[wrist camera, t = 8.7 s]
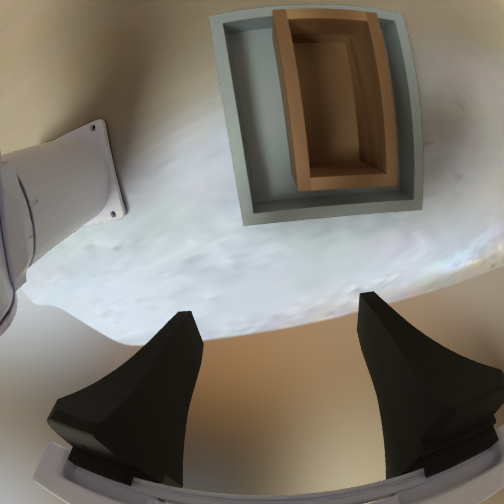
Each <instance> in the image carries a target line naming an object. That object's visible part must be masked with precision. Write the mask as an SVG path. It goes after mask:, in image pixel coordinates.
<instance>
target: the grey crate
mask: <svg viewBox="0 0 504 504" xmlns="http://www.w3.org/2000/svg"><path fill="white" fill-rule="evenodd" d="M295 8H328V9H346V10H358V11H367V12H374V13H377V16H378V20H379V24H380V28H381V32H382V36H383V41H384V46H385V51H386V56H387V61H388V67H389V73H390V80H391V87H392V95H393V103H394V113H395V125H396V141H397V186H377V187H357V188H340V189H326V190H313V191H301V192H299V191H298V189H297V186H296V184H295V181H294V179H293V176H292V174H291V166H290V157H289V149H288V140H287V132H286V125H285V117H284V110H283V102H282V96H281V89H280V82H279V76H278V69H277V63H276V57H275V51H274V46H273V40H272V10H277V9H295ZM209 22H210V28H211V34H212V41H213V47H214V53H215V59H216V65H217V71H218V77H219V84H220V90H221V96H222V102H223V108H224V114H225V120H226V126H227V132H228V138H229V144H230V150H231V156H232V162H233V168H234V174H235V180H236V185H237V191H238V197H239V203H240V209H241V215H242V221H243V226H250V225H258V224H267V223H277V222H286V221H296V220H306V219H316V218H326V217H337V216H348V215H360V214H372V213H384V212H398V211H412V210H422V203H423V133H422V119H421V108H420V99H419V91H418V84H417V77H416V71H415V66H414V60H413V55H412V50H411V46H410V42H409V37H408V33H407V29H406V26H405V22H404V18H403V15H402V13H398V12H393V11H387V10H381V9H374V8H365V7H356V6H343V5H285V6H272V7H262V8H253V9H246V10H239V11H233V12H228V13H222V14H217V15H213V16H209Z"/></svg>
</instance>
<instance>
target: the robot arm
mask: <svg viewBox="0 0 504 504" xmlns="http://www.w3.org/2000/svg"><path fill="white" fill-rule="evenodd" d="M94 125H95V130H93V126H94ZM113 211H114V212H115V213H116V216H115V215H114V214H113ZM125 214H126V211H125V207H124V204H123V200H122V196H121V193H120V189H119V185H118V181H117V177H116V172H115V168H114V164H113V159H112V155H111V150H110V145H109V140H108V135H107V130H106V124H105V121H104V120H102V119H99V120H95V121H93V122H91V123H88V124H86V125H84V126H82V127H80V128H78V129H75V130H73V131H71V132H69V133H67V134H65V135H63V136H61V137H59V138H57V139H55V140H54V141H51V142H47V143H43V144H39V145H35V146H32V147H28V148H24V149H21V150H17V151H14V152H11V153H8V154H5V155H1V152H0V336H1V335H2V334H3V333H4V332H5V331H6V330H7V328H8V327H9V326H10V324H11V322H12V321H13V319H14V316H15V314H16V310H17V294H16V291H17V290H18V289H19V288H20V287H21V286H22V285H23V284H24V283H25V282H26V281H27V280H26V271H27V269H28V268H29V267H30V266H31V265H32V264H33V263H35V262H36V261H37V260H38V259H40V258H41V257H42V256H43V255H45V254H46V253H47V252H48V251H50V250H51V249H52V248H54V247H55V246H56V245H57V244H59V243H60V242H61V241H63V240H64V239H65V238H67V237H68V236H70V235H71V234H72V233H74V232H75V231H76V230H78V229H79V228H81V227H85V226H90V225H94V224H99V223H104V222H109V221H114V220H118V219H122V218H123V217H124V216H125ZM357 332H358V337H359V341H360V346H361V350H362V353H363V355H364V359H365V361H366V364H367V367H368V370H369V373H370V375H371V379H372V382H373V385H374V388H375V391H376V395H377V399H378V404H379V409H380V415H381V421H382V429H383V436H384V447H385V459H386V460H385V462H386V480H383V481H379V482H375V483H371V484H367V485H362V486H357V487H352V488H346V489H340V490H334V491H326V492H319V493H309V494H296V495H270V496H268V495H263V496H261V495H234V494H221V493H211V492H203V491H196V490H189V489H183V488H182V487H183V451H184V439H185V430H186V422H187V415H188V410H189V405H190V402H191V398H192V394H193V391H194V387H195V384H196V380H197V377H198V373H199V369H200V365H201V361H202V353H203V345H204V344H203V341H202V338H201V336H200V333H199V331H198V328H197V325H196V323H195V320H194V317H193V315H192V312H191V311H182V312H178V313H177V314H176V315H174V316H173V317H172V318H171V319H170V320H169V321H168V323H167V324H166V325H165V326H164V327H163V328H162V329H161V330H160V331H159V332H158V333H157V334H156V335H155V336H154V337H153V338H152V339H151V340H150V341H149V342H148V343H147V344H146V345H144V346H143V347H142V348H141V349H140V350H139V351H138V352H137V353H136V354H135V355H134V356H132V357H131V358H130V359H129V360H128V361H126V362H125V363H124V364H123V365H121V366H120V367H119V368H117V369H116V370H114V371H113V372H111V373H110V374H108V375H107V376H105V377H104V378H102V379H101V380H99V381H97V382H95V383H94V384H92V385H90V386H88V387H86V388H84V389H82V390H80V391H77V392H75V393H73V394H70V395H68V396H65V397H63V398H60V399H58V400H57V401H56V403H55V405H54V407H53V409H52V411H51V413H50V415H49V417H48V419H47V422H48V425H49V426H50V427H51V428H52V429H53V430H54V431H55V432H56V433H57V434H58V435H59V436H61V437H62V438H63V439H64V440H65V441H67V442H68V443H69V444H70V445H72V446H73V448H72V450H71V451H70V450H68V449H66V448H64V447H63V446H60V445H58V444H56V443H54V442H52V441H49V442H48V444H47V446H46V448H45V450H44V452H43V455H42V457H41V459H40V461H39V464H38V466H37V468H36V471H35V473H34V476H33V478H32V479H33V481H34V482H36V483H37V484H38V485H40V486H41V487H43V488H44V489H46V490H48V491H49V492H50V493H52V494H54V495H55V496H57V497H58V498H60V499H61V500H63V501H64V502H66V503H68V504H167V503H165V502H168V503H172V504H364V503H368V502H373V501H376V502H373V503H369V504H479V503H481V502H483V501H484V500H486V499H488V498H489V497H491V496H492V495H494V494H495V493H496V492H498V491H499V490H501V489H502V488H504V424H503V425H502V426H500V427H499V428H498V429H497V430H496V431H495V429H494V426H493V425H494V424H495V423H496V419H495V417H494V413H496V411H497V410H498V409H499V408H500V407H501V405H502V404H503V403H504V374H503V372H502V371H501V370H500V369H497V368H494V367H490V366H487V365H484V364H481V363H478V362H475V361H473V360H470V359H468V358H466V357H463V356H461V355H459V354H457V353H455V352H453V351H451V350H449V349H447V348H445V347H444V346H442V345H440V344H439V343H437V342H435V341H434V340H432V339H431V338H429V337H428V336H426V335H425V334H423V333H422V332H420V331H419V330H417V329H416V328H415V327H414V326H412V325H411V324H410V323H409V322H407V321H406V320H405V319H404V318H403V317H402V316H400V315H399V314H398V313H397V312H396V311H395V310H393V309H392V308H391V307H390V306H389V305H388V304H387V303H386V302H385V301H384V300H382V299H381V298H380V297H379V296H378V295H377V294H376V293H375V292H373V291H372V292H366V293H360V297H359V311H358V323H357ZM381 499H382V500H381ZM377 500H379V501H377Z"/></svg>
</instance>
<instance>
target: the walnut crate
mask: <svg viewBox="0 0 504 504" xmlns="http://www.w3.org/2000/svg"><path fill="white" fill-rule="evenodd" d="M272 40H273V46H274V51H275V57H276V63H277V69H278V76H279V82H280V89H281V96H282V102H283V110H284V117H285V125H286V132H287V140H288V149H289V157H290V166H291V174H292V176H293V179H294V181H295V184H296V186H297V189H298V191H299V192H301V191H313V190H326V189H340V188H357V187H377V186H397V141H396V125H395V113H394V103H393V95H392V87H391V80H390V73H389V67H388V61H387V56H386V51H385V46H384V41H383V36H382V32H381V28H380V24H379V20H378V16H377V13H374V12H367V11H358V10H346V9H328V8H295V9H277V10H272Z"/></svg>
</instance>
